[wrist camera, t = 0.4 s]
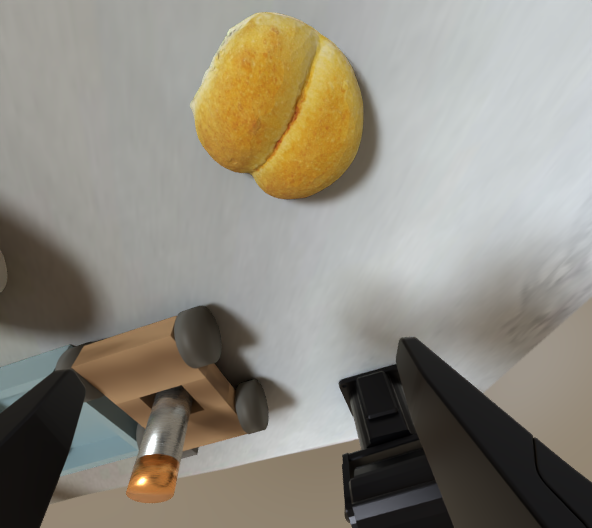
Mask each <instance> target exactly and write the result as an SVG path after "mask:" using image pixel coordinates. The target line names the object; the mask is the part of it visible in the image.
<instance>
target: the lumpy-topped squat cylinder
mask: <svg viewBox="0 0 592 528" xmlns="http://www.w3.org/2000/svg"><path fill="white" fill-rule="evenodd" d="M6 284H7V268H6V263H5V259H4V256H3V254H2V252H1V250H0V293H1V292H2V291H3V289H4V288H5V286H6Z"/></svg>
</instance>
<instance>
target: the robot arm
mask: <svg viewBox="0 0 592 528" xmlns="http://www.w3.org/2000/svg"><path fill="white" fill-rule="evenodd" d="M396 364H397V365H394V366H390V367H387V368H383V369H380V370H376V371H373V372H369V373H365V374H362V375H358V376H355V377H351V378H348V379H344V380H341V381H340V382H339V387H340V390H341V392H342V394H343V396H344V398H345V401H346V403H347V405H348V407H349V409H350V412H351V414H352V416H353V417H354V421H355V425H356V429H357V433H358V438H359V442H360V446H361V450H360V451H356V452H353V453H350V454H349V453H346V454H343V455H342V457H343V464H342V469H343V483H344V484H343V485H344V498H345V518H346V520H347V522H349V523H350V524H351V525H352V528H592V482H591V481H589V480H588V479H587V478H585V477H584V476H583V475H581V474H580V473H579V472H577V471H576V470H575V469H574V468H572V467H571V466H570V465H569V464H567V463H566V462H565V461H563V460H562V459H561V458H560V457H559V456H557V455H556V454H555V453H554V452H552V451H551V450H550V449H549V448H548V447H546V446H545V445H544V444H543V443H542V442H540V441H539V440H538V439H537V438H533V436H532V434H531V433H530V432H528V431H527V430H526V429H525V428H524V427H522V426H521V425H520V424H519V423H518V422H516V421H515V420H514V419H513V418H512V417H510V416H509V415H508V414H507V413H506V412H504V411H503V410H502V409H501V408H500V407H498V406H497V405H496V404H495V403H494V402H492V401H491V400H490V399H489V398H488V397H486V396H485V395H484V394H483V393H482V392H480V391H479V390H478V389H477V388H476V387H474V386H473V385H472V384H471V383H470V382H468V381H467V380H466V379H465V378H464V377H462V376H461V375H460V374H459V373H458V372H456V371H455V370H454V369H453V368H452V367H451V366H449V365H448V364H447V363H446V362H445V361H443V360H442V359H441V358H440V357H439V356H437V355H436V354H435V353H434V352H433V351H431V350H430V349H429V348H428V347H427V346H425V345H424V344H423V343H422V342H421V341H419V340H418V339H417V338H415V337H405V338H401V339H400V340H399V343H398V349H397V355H396ZM85 395H86V389H85V386H84V384H83V383H82V381H81V380H80V378H79V377H78V375H77V374H76V372H75V371H74V370H72V369H63V370H56V371H54V372H52V373H51V374H50V375H48V376H47V377H46V378H44V379H43V380H42V381H41V382H39V383H38V384H37V385H36V386H34V387H33V388H32V389H30V390H29V391H28V392H27V393H25V394H24V395H23V396H22V397H20V398H19V399H18V400H16V401H15V402H14V403H13V404H11V405H10V406H9V407H8V408H6V409H5V410H4V411H2V412H1V413H0V528H40V526H41V523H42V521H43V518H44V516H45V513H46V511H47V508H48V506H49V503H50V500H51V498H52V495H53V493H54V490H55V488H56V485H57V483H58V480H59V478H60V475H61V472H62V470H63V467H64V465H65V462H66V460H67V457H68V454H69V451H70V448H71V445H72V442H73V438H74V435H75V431H76V428H77V424H78V420H79V417H80V413H81V410H82V406H83V403H84V399H85Z"/></svg>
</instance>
